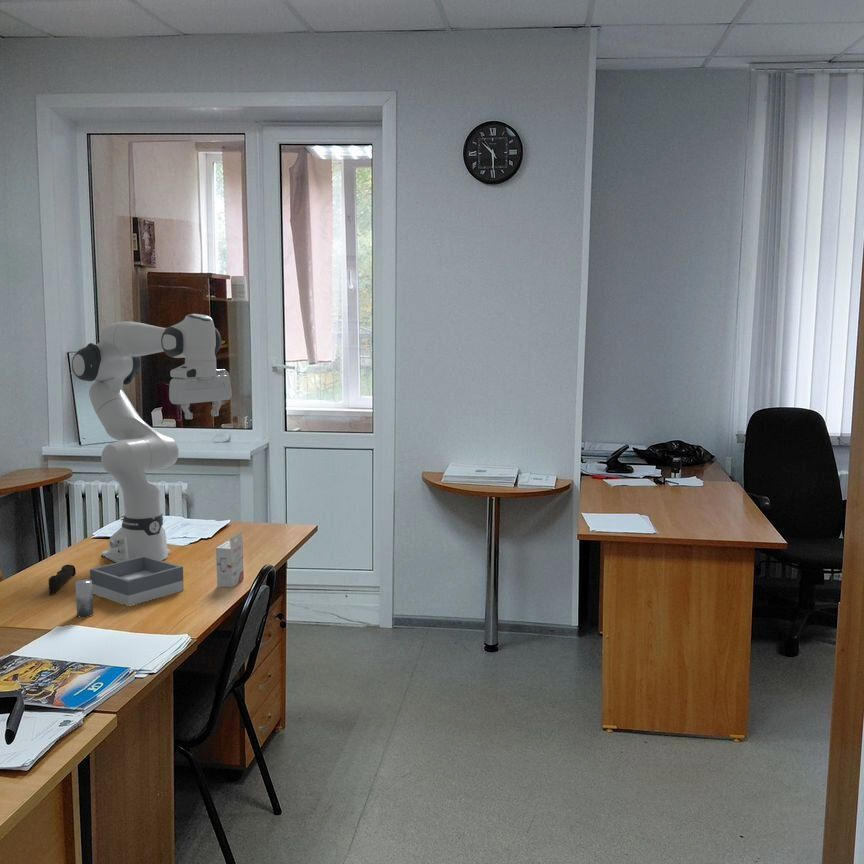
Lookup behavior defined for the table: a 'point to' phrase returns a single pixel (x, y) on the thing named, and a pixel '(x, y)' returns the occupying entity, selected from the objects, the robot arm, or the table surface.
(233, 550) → the ink cartridge box
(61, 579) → the hand tool
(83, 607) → the peg
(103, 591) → the open gray box
